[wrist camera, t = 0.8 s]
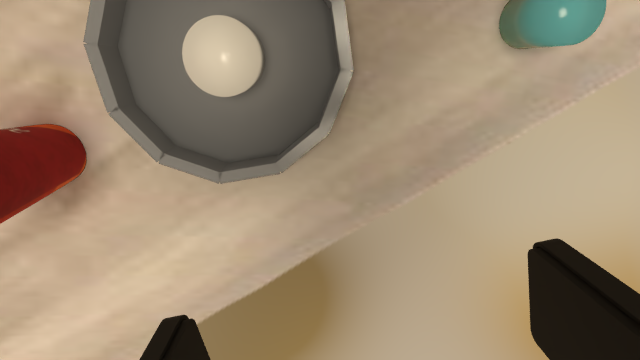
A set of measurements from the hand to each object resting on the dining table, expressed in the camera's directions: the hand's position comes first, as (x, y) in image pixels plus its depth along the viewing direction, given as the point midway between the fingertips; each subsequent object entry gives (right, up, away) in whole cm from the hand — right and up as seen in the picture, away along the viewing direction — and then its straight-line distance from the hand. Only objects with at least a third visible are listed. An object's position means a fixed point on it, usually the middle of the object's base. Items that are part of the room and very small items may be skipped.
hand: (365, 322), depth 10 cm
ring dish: (-9, +15, +22) cm, 28 cm away
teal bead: (+17, +18, +21) cm, 33 cm away
